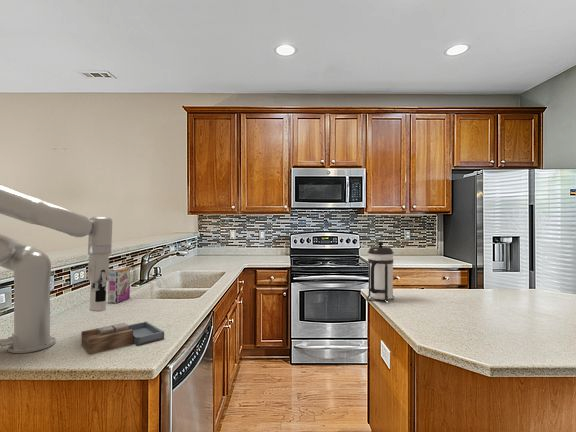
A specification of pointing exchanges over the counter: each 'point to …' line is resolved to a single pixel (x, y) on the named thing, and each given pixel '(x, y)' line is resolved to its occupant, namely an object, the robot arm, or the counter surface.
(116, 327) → the chip
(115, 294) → the candy bar box
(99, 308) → the eye dropper bottle
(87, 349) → the slot block
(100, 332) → the chip
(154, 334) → the tray
